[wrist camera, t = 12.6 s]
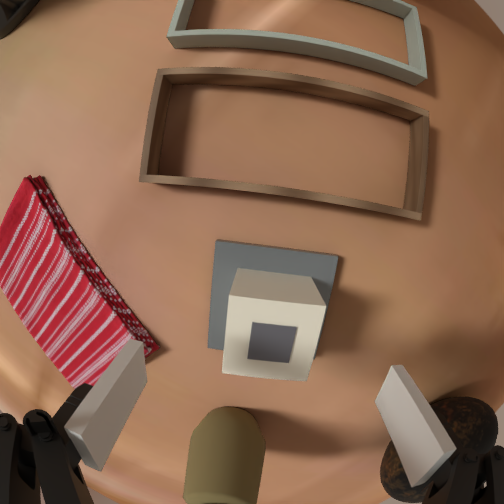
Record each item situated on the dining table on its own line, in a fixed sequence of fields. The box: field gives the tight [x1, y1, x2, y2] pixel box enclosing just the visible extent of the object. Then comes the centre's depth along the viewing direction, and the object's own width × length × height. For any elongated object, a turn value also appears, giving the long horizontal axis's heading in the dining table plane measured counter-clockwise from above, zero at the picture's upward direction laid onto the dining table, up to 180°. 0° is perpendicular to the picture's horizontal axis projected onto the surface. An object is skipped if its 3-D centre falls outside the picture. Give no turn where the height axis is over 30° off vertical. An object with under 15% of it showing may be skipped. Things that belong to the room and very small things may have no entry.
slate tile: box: [208, 239, 338, 359], centre depth 23 cm, size 10×10×1 cm
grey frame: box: [167, 0, 427, 86], centre depth 17 cm, size 23×10×2 cm, turn 83°
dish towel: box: [0, 175, 160, 389], centre depth 24 cm, size 17×24×3 cm
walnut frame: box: [139, 67, 429, 221], centre depth 19 cm, size 23×10×2 cm, turn 83°
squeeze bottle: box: [183, 407, 266, 504], centre depth 18 cm, size 8×8×18 cm
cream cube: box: [222, 268, 326, 381], centre depth 20 cm, size 6×6×6 cm
